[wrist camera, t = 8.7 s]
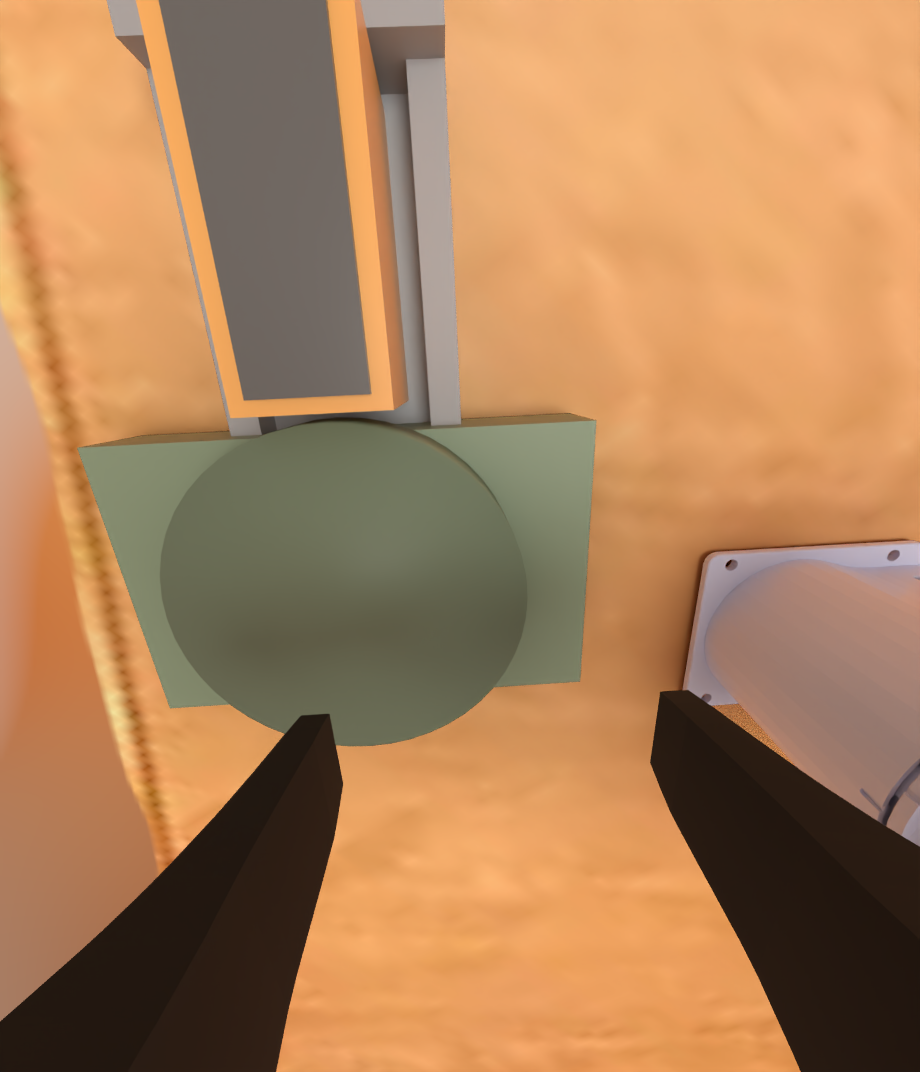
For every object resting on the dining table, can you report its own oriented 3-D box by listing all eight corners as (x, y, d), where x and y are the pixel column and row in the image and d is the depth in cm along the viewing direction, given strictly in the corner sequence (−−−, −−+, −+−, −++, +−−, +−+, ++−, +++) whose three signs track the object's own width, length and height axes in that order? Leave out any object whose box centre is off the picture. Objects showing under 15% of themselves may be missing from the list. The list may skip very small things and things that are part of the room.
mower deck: (583, 56, 13) (668, -135, 8) (560, 647, 20) (596, 730, 15) (33, 75, 12) (-218, -112, 8) (212, 669, 19) (139, 761, 15)
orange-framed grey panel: (384, 112, 12) (347, -60, 8) (408, 400, 15) (393, 410, 10) (246, 117, 12) (118, -53, 7) (295, 406, 15) (226, 419, 10)
